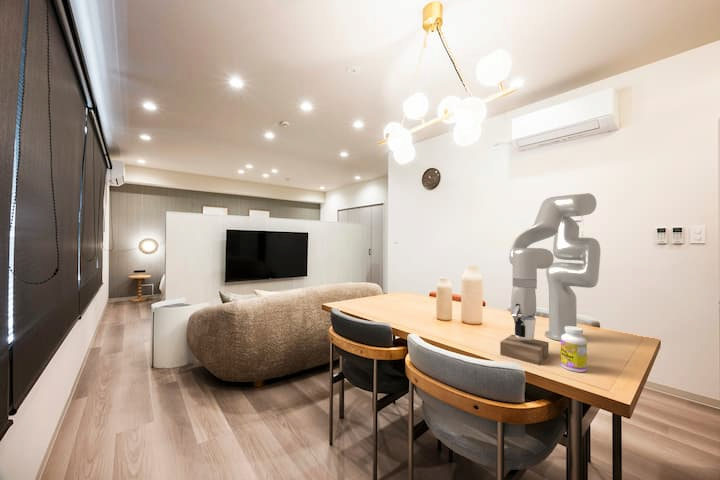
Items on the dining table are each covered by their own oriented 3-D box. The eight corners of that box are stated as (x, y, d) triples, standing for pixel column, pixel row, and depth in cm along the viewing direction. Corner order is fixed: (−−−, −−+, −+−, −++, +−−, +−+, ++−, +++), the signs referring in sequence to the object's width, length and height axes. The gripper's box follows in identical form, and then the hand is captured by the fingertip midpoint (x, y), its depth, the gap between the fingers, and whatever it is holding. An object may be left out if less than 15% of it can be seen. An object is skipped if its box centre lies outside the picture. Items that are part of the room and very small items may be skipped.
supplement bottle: (555, 364, 95) (555, 325, 95) (574, 363, 96) (574, 324, 96) (572, 373, 89) (572, 331, 89) (592, 372, 89) (592, 330, 89)
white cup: (530, 334, 106) (530, 315, 106) (539, 340, 99) (539, 320, 99) (510, 333, 107) (510, 314, 107) (518, 339, 100) (518, 319, 100)
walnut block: (512, 347, 112) (512, 334, 112) (548, 356, 103) (548, 342, 103) (500, 356, 103) (500, 341, 103) (538, 366, 95) (538, 351, 95)
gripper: (524, 280, 112) (524, 327, 111) (501, 284, 101) (501, 336, 101) (546, 282, 106) (546, 332, 105) (524, 287, 95) (524, 342, 95)
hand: (524, 333), depth 103 cm, fingers closed on white cup, 6 cm apart
